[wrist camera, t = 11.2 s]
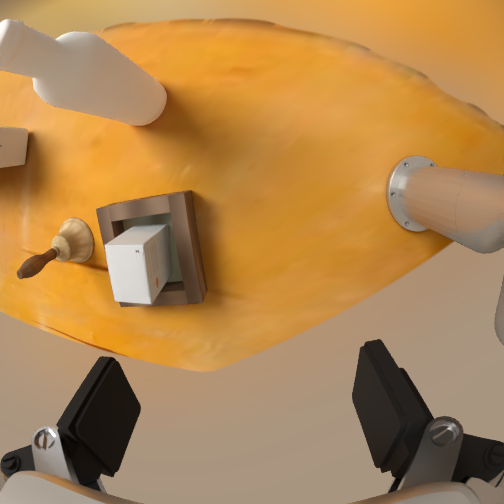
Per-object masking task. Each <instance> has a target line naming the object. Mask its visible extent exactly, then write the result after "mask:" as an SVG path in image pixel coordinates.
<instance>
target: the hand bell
mask: <svg viewBox="0 0 504 504" xmlns="http://www.w3.org/2000/svg"><path fill="white" fill-rule="evenodd" d="M93 249H94V239H93V235H92V232H91V230H90V228H89V227H88V225H87V224H86V223H85V222H84V221H82V220H81V219H78V218H69V219H67V220H66V221H65V222H64V223H63V224H62V226H61V228H60V232H59V234H58V235H57V236H56V237H54V239H53V240H52V243H51V249H50V250H48V251H47V252H45V253H44V254H42V255H35V256H33V257H30V258H29V259H27V260H26V261H25V262H24V263H23V264H22V266H21V267H20V269H19V270H18V271H17V276H18V278H19V279H23V278H29V277H32V276H34V275H36V274H38V273H39V272H40V271H41V270H42V269H43V268H44V266H45V265H46V264H47V263H48V262H49V261H51V260H53V259H55V258H56V259H57V260H59V261H61V262H65V261H67V260H72V261H74V262H78V263H81V262H85V261H87V260H88V259H89V258H90V257H91V255H92V253H93Z"/></svg>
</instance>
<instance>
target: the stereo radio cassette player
mask: <svg viewBox="0 0 504 504" xmlns="http://www.w3.org/2000/svg"><path fill="white" fill-rule="evenodd" d="M27 143H28V130H27V129H24V128H16V127H0V168H3V167H10V166H18V165H24V164H25V160H26V152H27Z"/></svg>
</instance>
